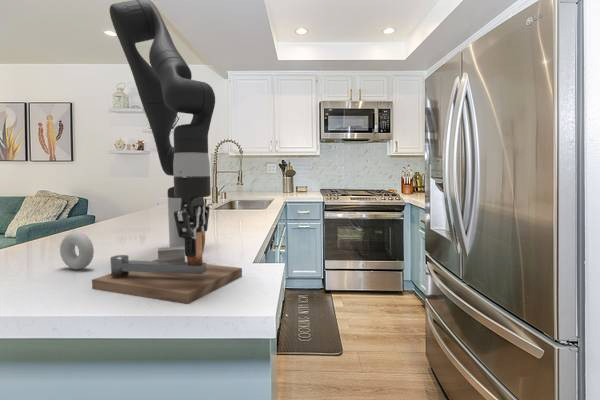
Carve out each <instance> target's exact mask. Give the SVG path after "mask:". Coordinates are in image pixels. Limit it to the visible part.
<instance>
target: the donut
mask: <svg viewBox="0 0 600 400" xmlns="http://www.w3.org/2000/svg"><path fill="white" fill-rule="evenodd" d="M76 247H77V249H78V255H77V253H76ZM94 251H95V250H94V245H93V242H92V240H91V239H90V238H89V236H88V235H86V234H85V233H83V232H79V231H72V232H70V233H67V235H65V236H64V237H63V239H62V240H61V243H60V247H59V253H60V257H61V260H62V262H63V263H64V264H65V265H66V266H67V267H68V268H70V269H73V270H75V271H76V270H83V269H85V268H86V267H88V266H89V265H90V264H91V263H92V260H93V258H94V253H95V252H94Z"/></svg>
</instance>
